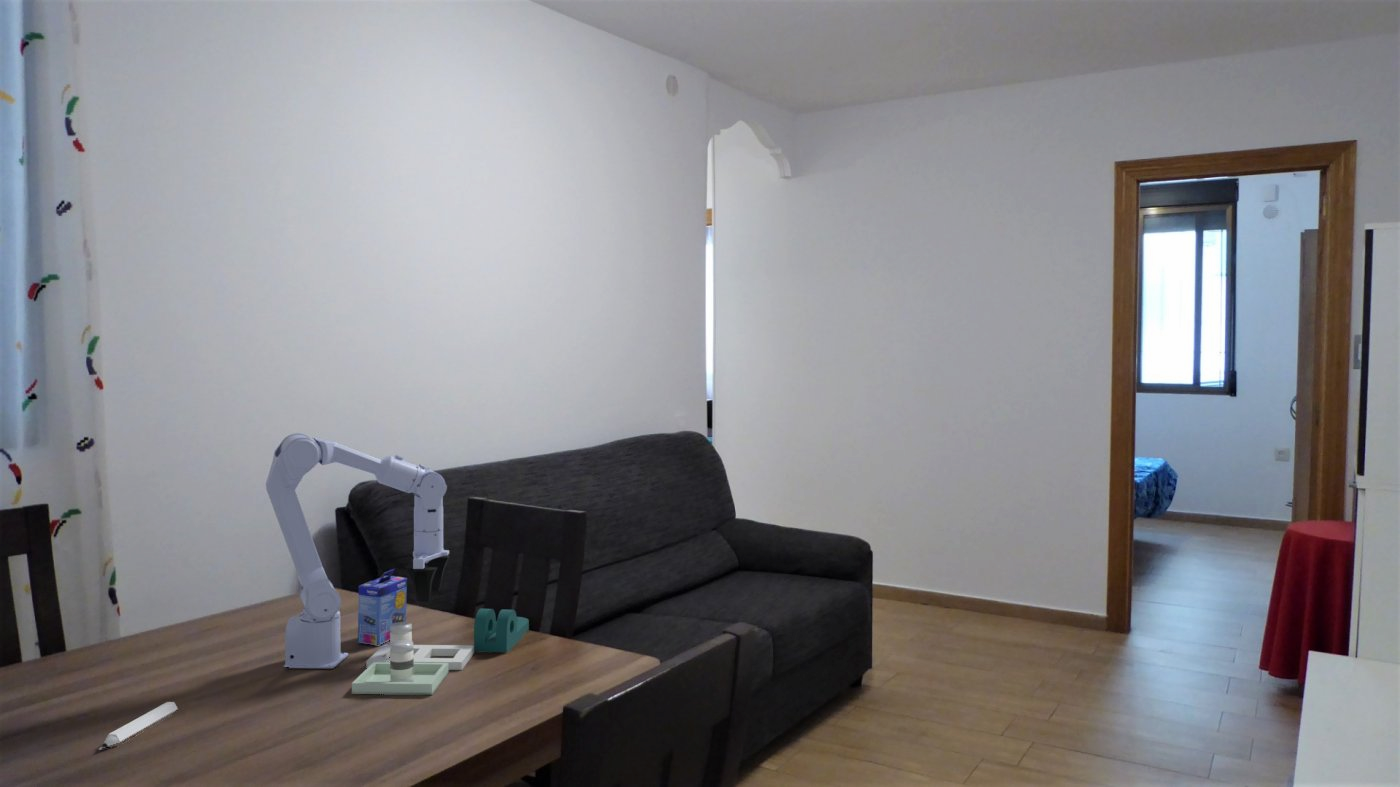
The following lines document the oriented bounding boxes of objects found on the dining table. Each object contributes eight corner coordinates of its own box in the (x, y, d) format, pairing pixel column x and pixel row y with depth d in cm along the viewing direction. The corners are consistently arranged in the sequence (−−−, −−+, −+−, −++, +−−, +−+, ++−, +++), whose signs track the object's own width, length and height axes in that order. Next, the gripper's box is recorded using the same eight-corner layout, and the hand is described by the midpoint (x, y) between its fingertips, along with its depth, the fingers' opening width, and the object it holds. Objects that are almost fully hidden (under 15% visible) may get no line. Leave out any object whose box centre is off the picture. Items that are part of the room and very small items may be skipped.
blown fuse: (387, 685, 169) (386, 646, 168) (394, 677, 173) (394, 639, 172) (409, 685, 169) (409, 647, 168) (416, 677, 173) (416, 639, 172)
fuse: (387, 664, 181) (387, 628, 181) (394, 657, 185) (393, 622, 185) (408, 664, 181) (408, 628, 181) (414, 657, 185) (414, 622, 185)
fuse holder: (366, 669, 178) (366, 661, 178) (383, 651, 188) (383, 644, 188) (461, 670, 178) (461, 662, 178) (474, 652, 188) (474, 645, 188)
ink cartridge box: (379, 647, 191) (379, 576, 190) (356, 644, 193) (355, 574, 192) (408, 633, 201) (408, 565, 200) (385, 630, 202) (385, 563, 202)
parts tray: (351, 694, 165) (351, 683, 165) (373, 672, 176) (373, 662, 176) (431, 695, 165) (431, 684, 165) (448, 673, 176) (448, 663, 176)
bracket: (506, 654, 188) (506, 615, 188) (473, 652, 189) (473, 613, 189) (532, 627, 206) (532, 592, 206) (502, 626, 207) (502, 590, 207)
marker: (97, 760, 141) (169, 717, 157) (109, 754, 140) (179, 711, 156) (89, 745, 141) (161, 703, 157) (100, 738, 140) (171, 698, 156)
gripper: (438, 536, 183) (438, 606, 184) (457, 523, 198) (457, 587, 199) (402, 536, 183) (402, 605, 184) (423, 522, 198) (424, 586, 199)
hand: (428, 596), depth 191 cm, fingers open, 7 cm apart
